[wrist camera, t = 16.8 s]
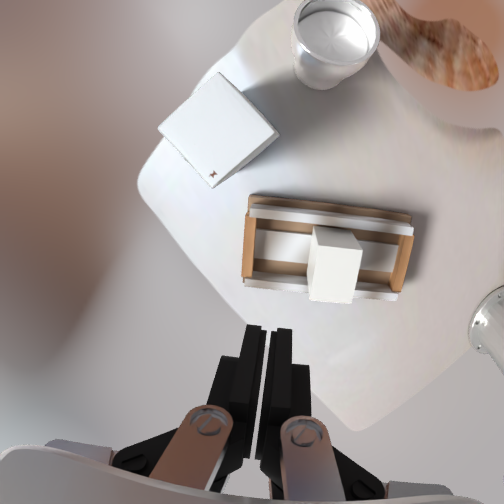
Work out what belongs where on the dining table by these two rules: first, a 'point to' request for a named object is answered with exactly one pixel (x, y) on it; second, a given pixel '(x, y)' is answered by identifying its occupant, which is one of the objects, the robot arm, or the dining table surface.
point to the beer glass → (332, 40)
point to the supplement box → (218, 130)
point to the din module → (333, 265)
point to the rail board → (299, 242)
